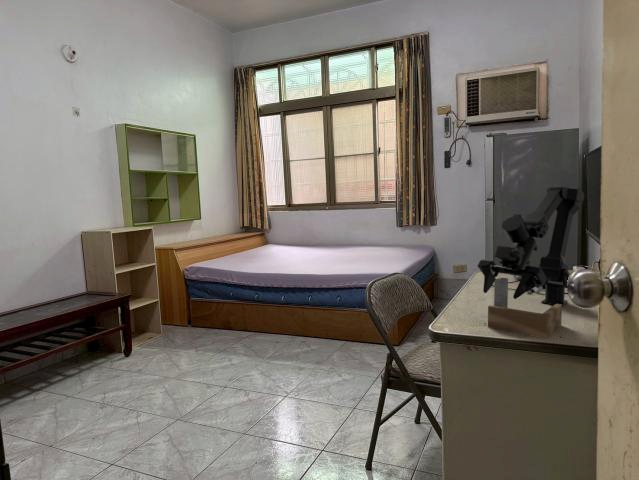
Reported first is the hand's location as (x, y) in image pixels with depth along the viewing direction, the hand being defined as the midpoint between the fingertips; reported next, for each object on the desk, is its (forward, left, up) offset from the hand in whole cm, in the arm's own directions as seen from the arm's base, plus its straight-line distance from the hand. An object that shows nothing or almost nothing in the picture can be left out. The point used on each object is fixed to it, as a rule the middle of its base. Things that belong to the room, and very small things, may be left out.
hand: (498, 295), depth 125 cm
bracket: (-1, +3, -8) cm, 9 cm away
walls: (-3, +6, -9) cm, 11 cm away
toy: (-56, -11, -9) cm, 58 cm away
